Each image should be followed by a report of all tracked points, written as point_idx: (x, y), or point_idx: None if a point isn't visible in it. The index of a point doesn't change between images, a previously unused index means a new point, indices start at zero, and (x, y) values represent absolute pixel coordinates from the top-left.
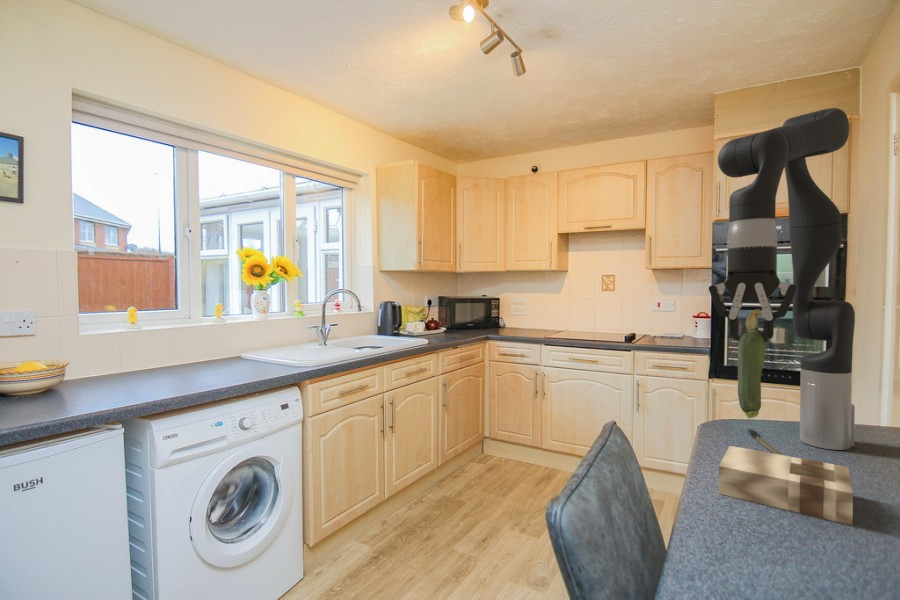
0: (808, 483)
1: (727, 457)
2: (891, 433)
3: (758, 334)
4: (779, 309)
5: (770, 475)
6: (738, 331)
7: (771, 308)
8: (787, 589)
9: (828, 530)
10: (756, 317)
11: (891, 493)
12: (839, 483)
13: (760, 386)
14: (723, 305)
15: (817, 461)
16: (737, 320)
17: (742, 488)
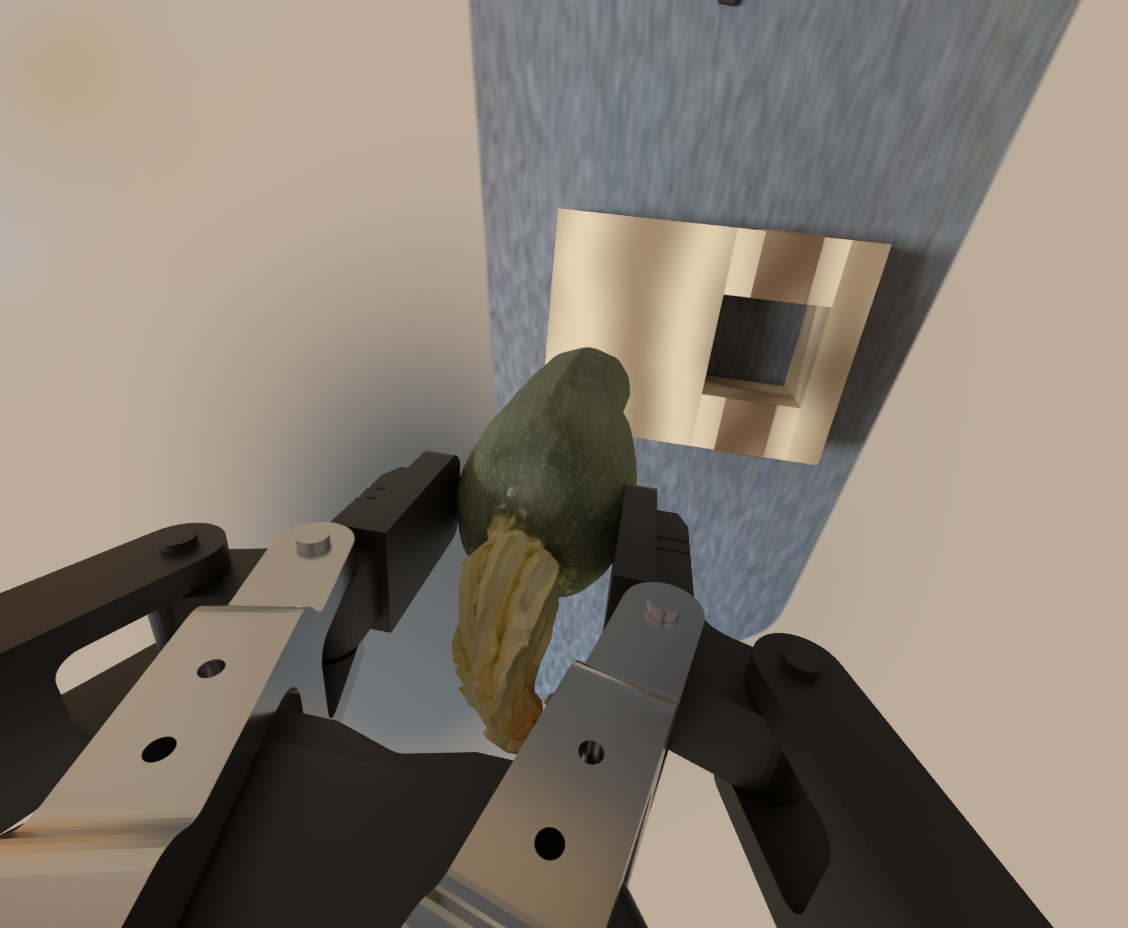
0: (731, 450)
1: (556, 341)
2: None
3: (575, 592)
4: (743, 830)
5: (653, 433)
6: (434, 534)
7: (683, 687)
8: None
9: (744, 479)
10: (531, 661)
11: (1006, 147)
12: (809, 411)
13: (623, 410)
14: (112, 627)
15: (808, 242)
16: (388, 631)
17: None
